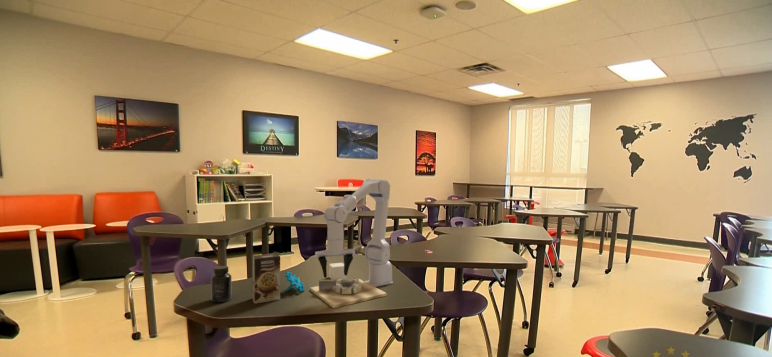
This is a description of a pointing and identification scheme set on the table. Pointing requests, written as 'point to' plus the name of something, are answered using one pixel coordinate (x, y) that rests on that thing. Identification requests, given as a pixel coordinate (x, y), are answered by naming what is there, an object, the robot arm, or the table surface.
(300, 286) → the gear
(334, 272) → the cream cube
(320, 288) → the faceted metal ring
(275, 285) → the cookie box
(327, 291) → the beige square board
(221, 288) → the supplement bottle
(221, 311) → the table surface
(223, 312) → the table surface
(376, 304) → the table surface
